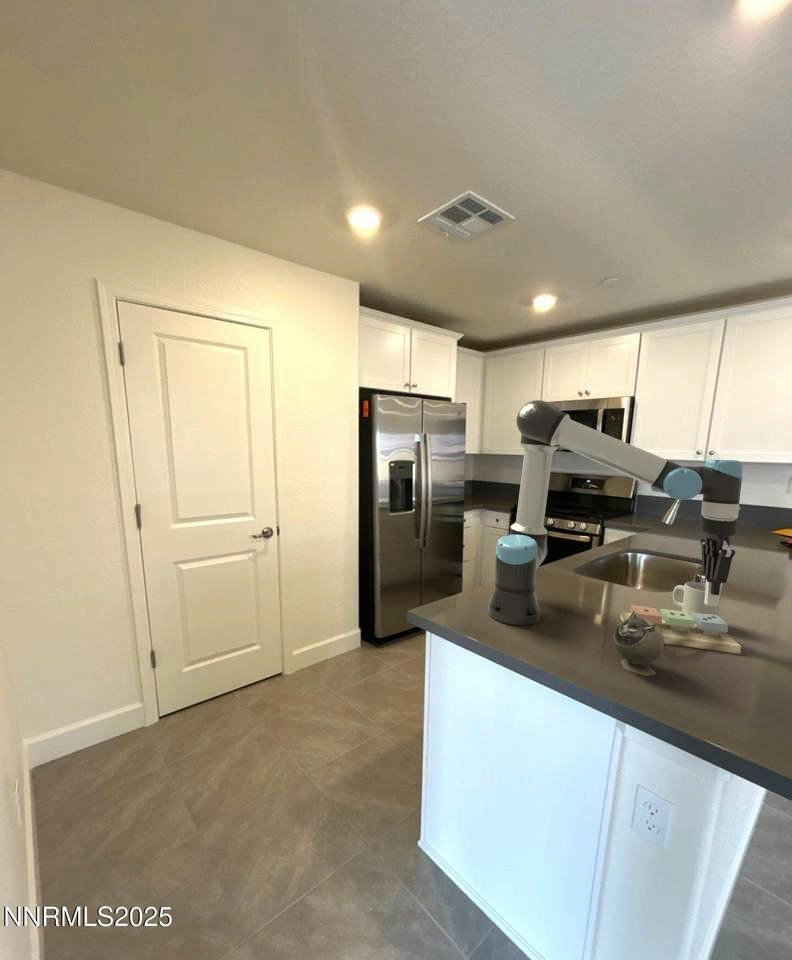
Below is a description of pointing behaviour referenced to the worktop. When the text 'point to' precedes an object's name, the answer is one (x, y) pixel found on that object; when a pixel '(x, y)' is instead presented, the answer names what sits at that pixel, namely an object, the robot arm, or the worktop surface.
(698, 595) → the mug
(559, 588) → the worktop surface
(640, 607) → the terracotta tile
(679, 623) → the sage tile
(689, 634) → the board
